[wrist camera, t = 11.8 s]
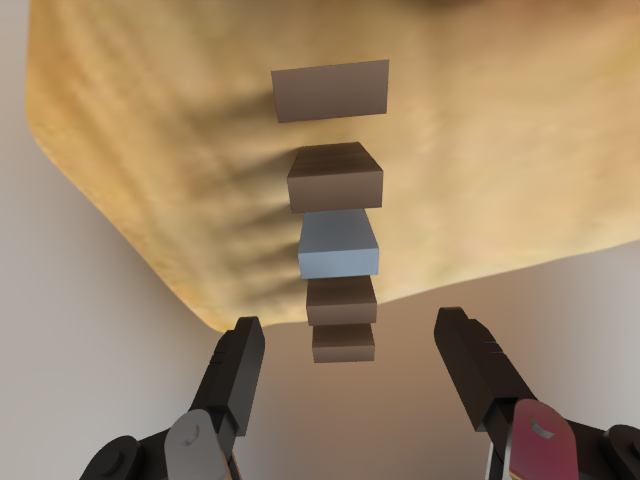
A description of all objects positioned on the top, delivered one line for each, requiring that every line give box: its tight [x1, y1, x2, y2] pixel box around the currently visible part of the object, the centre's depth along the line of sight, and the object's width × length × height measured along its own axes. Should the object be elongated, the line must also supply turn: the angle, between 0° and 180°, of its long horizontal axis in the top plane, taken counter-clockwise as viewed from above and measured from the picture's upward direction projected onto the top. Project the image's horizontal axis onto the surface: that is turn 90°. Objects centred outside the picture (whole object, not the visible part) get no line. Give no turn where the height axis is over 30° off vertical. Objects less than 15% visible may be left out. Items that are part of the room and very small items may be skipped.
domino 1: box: [271, 60, 389, 123], centre depth 15 cm, size 2×5×10 cm, turn 95°
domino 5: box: [312, 323, 375, 363], centre depth 24 cm, size 2×5×10 cm, turn 94°
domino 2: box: [287, 142, 383, 213], centre depth 17 cm, size 2×5×10 cm, turn 95°
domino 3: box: [298, 209, 379, 279], centre depth 20 cm, size 2×5×10 cm, turn 95°
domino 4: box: [306, 275, 377, 326], centre depth 22 cm, size 2×5×10 cm, turn 95°
